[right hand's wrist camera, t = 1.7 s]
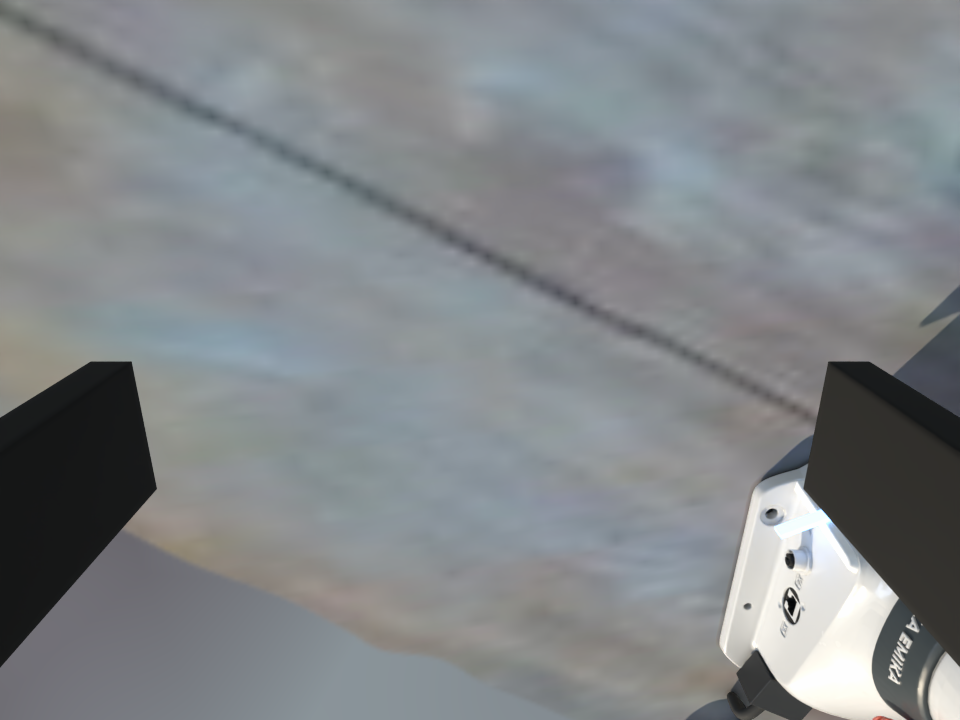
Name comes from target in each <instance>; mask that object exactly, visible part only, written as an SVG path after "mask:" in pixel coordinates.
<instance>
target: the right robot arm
mask: <svg viewBox="0 0 960 720" xmlns="http://www.w3.org/2000/svg"><path fill="white" fill-rule="evenodd" d="M156 489H157V487H156V482H155V477H154V472H153V467H152V462H151V457H150V452H149V447H148V442H147V437H146V432H145V427H144V422H143V417H142V412H141V407H140V402H139V397H138V392H137V387H136V382H135V377H134V372H133V367H132V362H89V363H88V364H86V365H85V366H83V367H81V368H80V369H78V370H77V371H75V372H73V373H72V374H70V375H68V376H67V377H65V378H64V379H62V380H60V381H59V382H57V383H56V384H54V385H52V386H51V387H49V388H48V389H46V390H44V391H43V392H41V393H39V394H38V395H36V396H35V397H33V398H31V399H30V400H28V401H27V402H25V403H23V404H22V405H20V406H18V407H17V408H15V409H14V410H12V411H10V412H9V413H7V414H6V415H4V416H2V417H1V418H0V667H1V666H2V665H3V664H4V662H5V661H6V660H7V659H8V658H9V657H10V656H11V654H12V653H13V652H14V651H15V650H16V649H17V648H18V646H19V645H20V644H21V643H22V642H23V641H24V640H25V639H26V637H27V636H28V635H29V634H30V633H31V632H32V631H33V629H34V628H35V627H36V626H37V625H38V624H39V623H40V621H41V620H42V619H43V618H44V617H45V616H46V615H47V613H48V612H49V611H50V610H51V609H52V608H53V607H54V605H55V604H56V603H57V602H58V601H59V600H60V599H61V597H62V596H63V595H64V594H65V593H66V592H67V591H68V590H69V588H70V587H71V586H72V585H73V584H74V583H75V582H76V580H77V579H78V578H79V577H80V576H81V575H82V573H83V572H84V571H85V570H86V569H87V568H88V567H89V566H90V564H91V563H92V562H93V561H94V560H95V559H96V558H97V556H98V555H99V554H100V553H101V552H102V551H103V550H104V549H105V547H106V546H107V545H108V544H109V543H110V542H111V541H112V539H113V538H114V537H115V536H116V535H117V534H118V533H119V531H120V530H121V529H122V528H123V527H124V526H125V525H126V523H127V522H128V521H129V520H130V519H131V518H132V517H133V515H134V514H135V513H136V512H137V511H138V510H139V509H140V507H141V506H142V505H143V504H144V503H145V502H146V501H147V500H148V498H149V497H150V496H151V495H152V494H153V493H154V492H155V490H156ZM803 489H804V490H805V492H806V493H807V494H808V495H809V496H810V497H811V498H812V500H813V501H814V502H815V503H816V504H817V505H818V506H819V507H820V509H821V510H822V511H823V512H824V513H825V514H826V515H827V517H828V518H829V519H830V520H831V521H832V522H833V523H834V525H835V526H836V527H837V528H838V529H839V530H840V531H841V533H842V534H843V535H844V536H845V537H846V538H847V539H848V541H849V542H850V543H851V544H852V545H853V546H854V547H855V549H856V550H857V551H858V552H859V553H860V554H861V555H862V556H863V558H864V559H865V560H866V561H867V562H868V563H869V564H870V566H871V567H872V568H873V569H874V570H875V571H876V572H877V574H878V575H879V576H880V577H881V578H882V579H883V580H884V582H885V583H886V584H887V585H888V586H889V587H890V588H891V590H892V591H893V592H894V593H895V594H896V595H897V596H898V598H899V599H900V600H901V601H902V602H903V603H904V604H905V605H906V607H907V608H908V609H909V610H910V611H911V612H912V613H913V615H914V616H915V617H916V618H917V619H918V620H919V621H920V623H921V624H922V625H923V626H924V627H925V628H926V629H927V631H928V632H929V633H930V634H931V635H932V636H933V637H934V639H935V640H936V641H937V642H938V643H939V644H940V645H941V647H942V648H943V649H944V650H945V651H946V652H947V653H948V654H949V656H950V657H951V658H952V659H953V660H954V661H955V662H956V664H957V665H958V666H959V667H960V418H959V417H958V416H956V415H954V414H953V413H951V412H950V411H948V410H946V409H945V408H943V407H942V406H940V405H938V404H937V403H935V402H933V401H932V400H930V399H929V398H927V397H925V396H924V395H922V394H921V393H919V392H917V391H916V390H914V389H912V388H911V387H909V386H908V385H906V384H904V383H903V382H901V381H900V380H898V379H896V378H895V377H893V376H892V375H890V374H888V373H887V372H885V371H883V370H882V369H880V368H879V367H877V366H875V365H874V364H872V363H871V362H828V367H827V372H826V377H825V382H824V387H823V392H822V397H821V402H820V407H819V412H818V417H817V422H816V427H815V432H814V437H813V442H812V447H811V452H810V457H809V462H808V467H807V472H806V477H805V482H804V487H803Z"/></svg>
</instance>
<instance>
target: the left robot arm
mask: <svg viewBox="0 0 960 720" xmlns="http://www.w3.org/2000/svg"><path fill="white" fill-rule="evenodd" d="M807 467H808V464H806V465H805V466H803V467H801V468H799V469H796V470H792V471H788V472H785V473H782V474H778V475H775V476H772V477H770V478H767V479H765V480H763V481H762V482H760V483H759V484H758V485H757V486H756V487H755V489H754V491H753V494H752V498H751V503H750V507H749V512H748V516H747V520H746V525H745V529H744V534H743V538H742V543H741V547H740V551H739V556H738V560H737V565H736V569H735V573H734V578H733V582H732V587H731V591H730V595H729V600H728V604H727V609H726V613H725V618H724V622H723V626H722V631H721V636H720V647H721V649H722V650H723V652H724V654H725V655H726V656H727V657H728V658H729V659H730V660H731V661H732V662H733V663H734V664H735V665H737V666H738V667H739V668H740V670H739V671H738V672H737V676H738V678H739V680H740V683H741V685H742V687H743V689H744V691H745V693H746V696H747V698H748V700H749V702H750V704H752V705H750V706H749V707H747V708H746V707H745V706H744V704H743V703H742V702H741V700H740V699H739V698H738V697H737V695H736V694H735V693H733V692H729V693H728V695H727V700H728V702H729V705H730V707H731V710H732V711H733V713H734V714H735V716H736V717H737V718H739V719H741V720H751V719H754V718H755V717H757V716H758V715H759V714H761V713H762V712H763V711H764V710H767V711H769V712H771V713H774V714H776V715H779V716H781V717H784V718H786V719H789V720H802V719H803V718H804V717H805V716H806V715H807V714H808V712H809V711H810V710H811V709H812V708H815V709H817V710H820V711H822V712H825V713H828V714H831V715H835V716H838V717H842V718H846V719H851V720H960V667H959V666H958V665H957V664H956V662H955V661H954V660H953V659H952V658H951V657H950V656H949V654H948V653H947V652H946V651H945V650H944V649H943V648H942V647H941V645H940V644H939V643H938V642H937V641H936V640H935V639H934V637H933V636H932V635H931V634H930V633H929V632H928V631H927V629H926V628H925V627H924V626H923V625H922V624H921V623H920V621H919V620H918V619H917V618H916V617H915V616H914V615H913V613H912V612H911V611H910V610H909V609H908V608H907V607H906V605H905V604H904V603H903V602H902V601H901V600H900V599H899V598H898V596H897V595H896V594H895V593H894V592H893V591H892V590H891V588H890V587H889V586H888V585H887V584H886V583H885V582H884V580H883V579H882V578H881V577H880V576H879V575H878V574H877V572H876V571H875V570H874V569H873V568H872V567H871V566H870V564H869V563H868V562H867V561H866V560H865V559H864V558H863V556H862V555H861V554H860V553H859V552H858V551H857V550H856V549H855V547H854V546H853V545H852V544H851V543H850V542H849V541H848V539H847V538H846V537H845V536H844V535H843V534H842V533H841V531H840V530H839V529H838V528H837V527H836V526H835V525H834V523H833V522H832V521H831V520H830V519H829V518H828V517H827V515H826V514H825V513H824V512H823V511H822V510H821V509H820V507H819V506H818V505H817V504H816V503H815V502H814V501H813V500H812V498H811V497H810V496H809V495H808V494H807V493H806V492H805V490H804V489H803V487H804V482H805V477H806V472H807ZM772 508H773V510H772V511H771V512H770V513H766V512H767V511H768V510H769V509H772Z"/></svg>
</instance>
